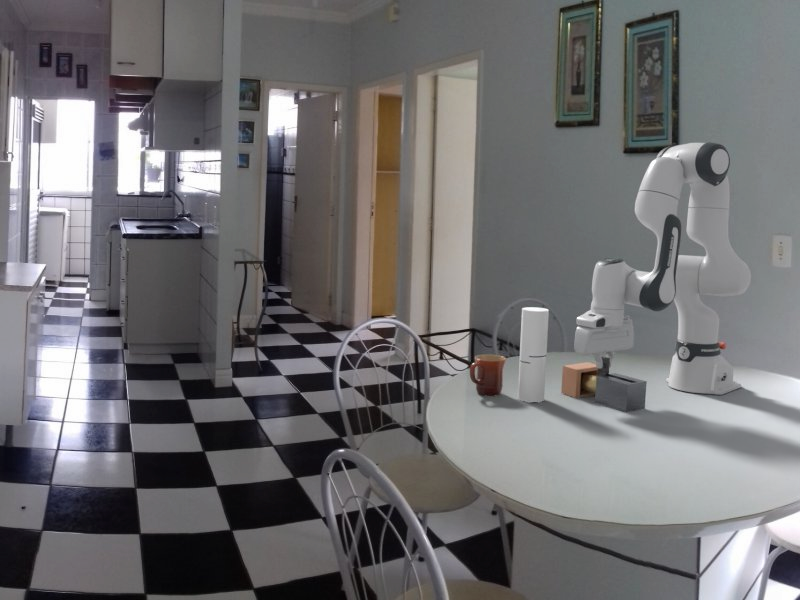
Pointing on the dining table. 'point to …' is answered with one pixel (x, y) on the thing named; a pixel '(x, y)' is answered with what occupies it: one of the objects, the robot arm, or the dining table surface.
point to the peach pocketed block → (576, 378)
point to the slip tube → (593, 377)
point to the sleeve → (620, 392)
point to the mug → (488, 374)
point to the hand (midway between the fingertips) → (603, 367)
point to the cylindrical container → (533, 354)
